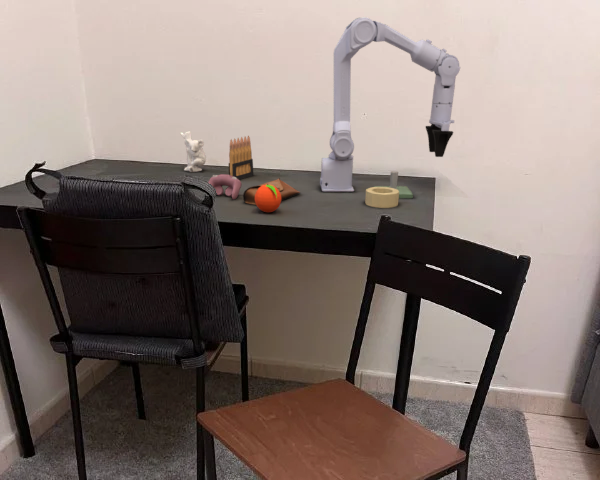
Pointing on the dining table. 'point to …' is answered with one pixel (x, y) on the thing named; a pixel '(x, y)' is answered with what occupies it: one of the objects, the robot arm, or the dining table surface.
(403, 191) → the peg stand
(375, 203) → the masking tape roll
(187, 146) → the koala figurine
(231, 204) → the dining table surface
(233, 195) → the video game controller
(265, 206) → the clementine
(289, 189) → the sunglasses case
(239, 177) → the ammunition clip
